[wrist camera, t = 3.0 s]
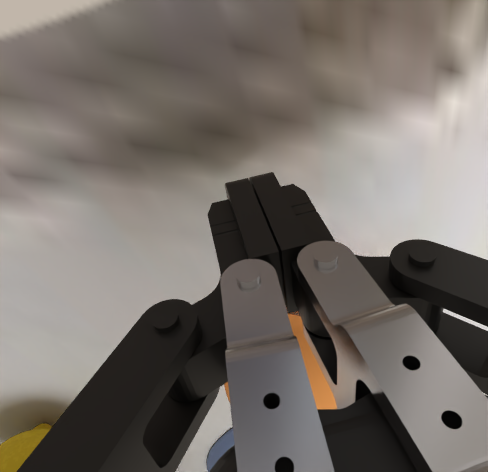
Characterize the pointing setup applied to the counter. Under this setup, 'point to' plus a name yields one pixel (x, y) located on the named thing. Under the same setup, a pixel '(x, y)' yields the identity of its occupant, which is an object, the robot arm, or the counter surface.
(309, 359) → the ball
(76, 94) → the counter surface
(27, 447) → the lemon
